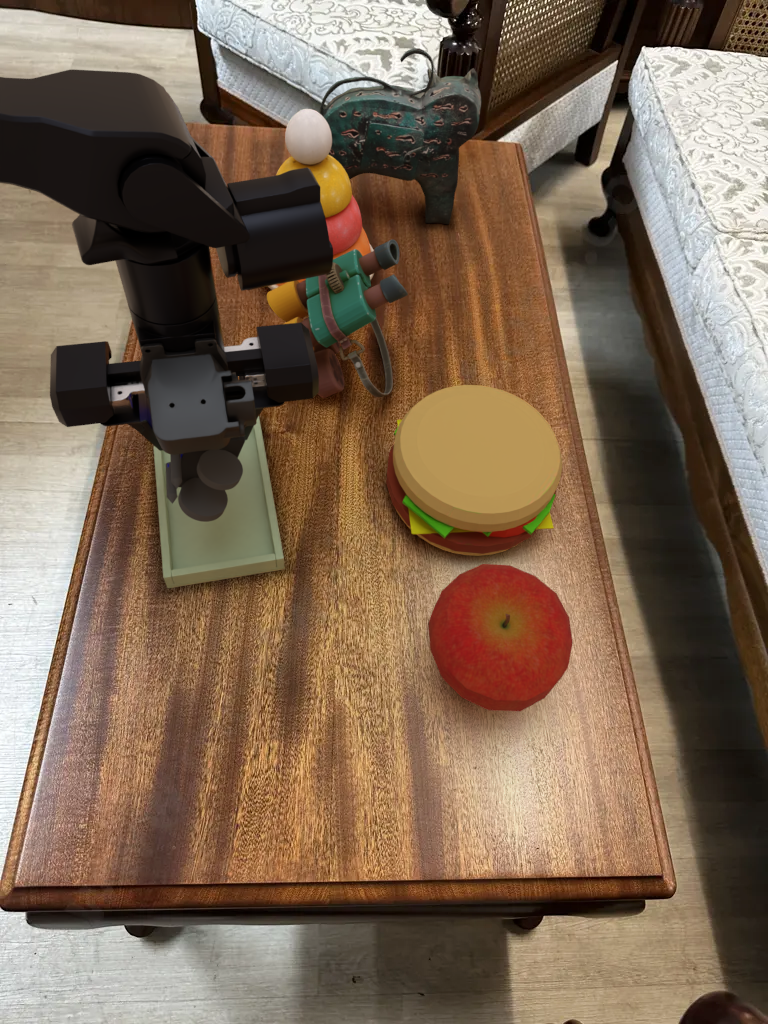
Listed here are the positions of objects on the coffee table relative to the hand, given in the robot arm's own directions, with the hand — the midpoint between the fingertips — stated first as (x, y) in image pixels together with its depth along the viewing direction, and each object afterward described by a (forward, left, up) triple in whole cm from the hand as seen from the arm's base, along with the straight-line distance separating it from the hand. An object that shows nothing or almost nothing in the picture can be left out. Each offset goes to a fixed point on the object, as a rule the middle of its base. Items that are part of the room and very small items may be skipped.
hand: (203, 441), depth 60 cm
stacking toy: (+15, +31, -10) cm, 36 cm away
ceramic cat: (+26, +41, -10) cm, 50 cm away
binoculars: (+14, +15, -10) cm, 23 cm away
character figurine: (0, 0, -2) cm, 2 cm away
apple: (+20, -21, -10) cm, 31 cm away
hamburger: (+24, -3, -10) cm, 26 cm away
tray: (0, +1, -10) cm, 10 cm away
